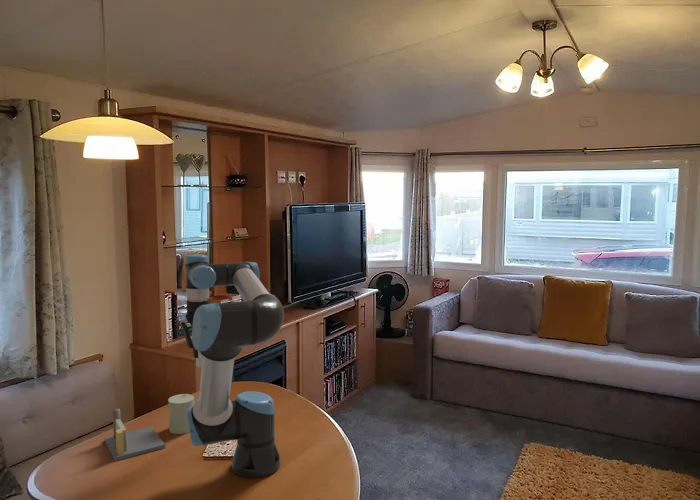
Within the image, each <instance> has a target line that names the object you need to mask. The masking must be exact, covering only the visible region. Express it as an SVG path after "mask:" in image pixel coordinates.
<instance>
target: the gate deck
mask: <svg viewBox="0 0 700 500" xmlns="http://www.w3.org/2000/svg"><path fill="white" fill-rule="evenodd" d="M117 419H122V418H121V409H120V408H114V409H113V410H112V422H113V424H112V425H113V426H112V427H113V435H109V436H105V437H103V441H104V442H105V445H106V447H107V449H108V451H109V453H110V456H112V458H113V461H114V462H117V461H120V460H124V459H125V460H126V459H128V458H132V457H135V456H139V455H143V454H147V453H151V452H155V451H158V450H163V449H166V444H165V442H164V441H163V440H162V439H161V437H160V436H159V434H158V433H157V432H156V431H155V429H154V427H153V426H147V427H143V428H140V429H139V428H138V429H135V430H131V431H126V434H127V449H126V450H123V432H122V430H121V429H118V430H116V420H117Z"/></svg>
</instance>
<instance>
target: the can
mask: <svg viewBox="0 0 700 500" xmlns="http://www.w3.org/2000/svg"><path fill="white" fill-rule="evenodd" d="M167 403H168V422H169V424H168V427H169V428H168V432H169V433H171V434H173V435H185V434H188V433H189V434H190V430H189V424H188V417H187V408H189V407H191V406H193V405H194V403H195V396H194V395H192V394H189V393H181V394H175V395H173V396H170V397H169V398H168V399H167Z"/></svg>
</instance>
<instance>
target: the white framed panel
mask: <svg viewBox="0 0 700 500" xmlns="http://www.w3.org/2000/svg"><path fill="white" fill-rule="evenodd" d="M121 419H122V418H121ZM121 419H117V420H116V430H118V429H121V430H122V432H123V450H126V449H127V434H126V432H127V428H126V426H125V425H124V423H123V422H122V420H121Z"/></svg>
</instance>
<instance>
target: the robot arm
mask: <svg viewBox="0 0 700 500" xmlns="http://www.w3.org/2000/svg"><path fill="white" fill-rule="evenodd" d="M184 267H185V283H186V284H185V286H186V287H185V289H186V290H185V294H186V300H187V301H186V314H185V318H184V319H182V320H179V322H178V323H179V325H180V327H181V329H182V332H183V334H184V338H185V341H186V344H187V345H186V346H187V347H189V349H192V356H193V358H194V359H195V366H196V367H197V368H201V369H200V370H201V372H200V382H199V383H200V384H199V394H198V397H197V398H196V400H194V405H193V406H191V407H189V408H187V417H188V424H189V430H190V432H189V437H190V442H191V444H192V445H193V446H194V447H200V446H204V447H206V446H208V445H209V446H210V445H215V444H218V443H225V442H230V441H234V440H236V441H237V443H236V447H235V450H234V454H233V456H232V461H231V469H232V471H233V472H234V474H236V475H238V476H240V477H243V478H248V479H249V478H251V479H256V478H264V477H267V476H269V475H272V474H273V473H275V472H277V471H278V470H279V469H280V467H281V455H280V452H279V450H278V446H277V444H276V441H275V439H276V438H275V436H276V435H275V434H276V433H275V431H276V430H275V414H276V410H275V402H274V401H275V400H274V399H273V397H271V395H269V394H267V393H264V392H261V391H253V390H252V391H249V390H247V391H243V392H241V393H238V394H237V395H236V398H235V400H231V399H230V395H231V388H232V387H231V386H232V381H233V374H234V366H235V359H236V358H237V357H238V356H239V355H240V354H241V352H242V349H243V347H244V346H251V345H252V346H253V345H259V344H260V345H261V344H263V343H265V342H268V341H270V340H271V339H272V338H274V337H275V335H277V334H278V332H279V331H280V330H281V328H282V326H283V323H284V320H285V311H284V306H283V304H282V303H281V301H280V300H279V298H278V297H276V295H274V294H271V293H270V292H269V291H268V290H267V288H266V287H265V286H264V284H263V283H262V281H261V280H260V269H259V265H258V263H257V262H254V261H239V262H224V263H223V262H222V263H221V262H220V263H210V261H209V256H208V255H206V254H202V253H200V254H199V253H197V254H196V253H195V254H188V255H186V256H185V264H184ZM231 286H234V288H235V289H236V290H237V293H238V294H239V296H240V297H241V299H242V301H233V302H223V303H222V302H220V303H217V302H211V303H210V300H209V298H210V289H211V288H215V287H216V288H217V287H231ZM188 324H190V326H191V332H190V331H189V330H190V329H189V328H188V327H189V326H188ZM190 333H191V334H190ZM191 335H192V336H191ZM191 337H192V338H191Z"/></svg>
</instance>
